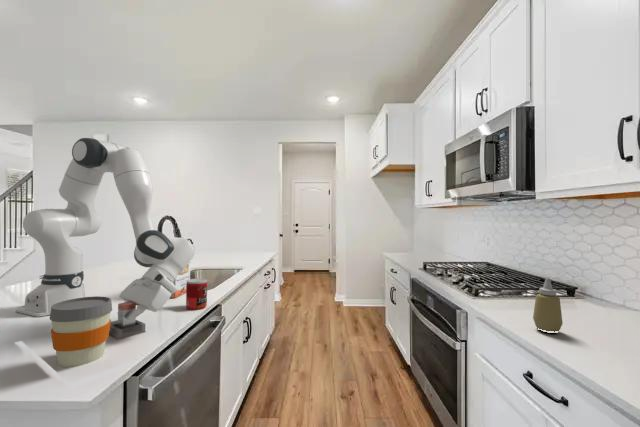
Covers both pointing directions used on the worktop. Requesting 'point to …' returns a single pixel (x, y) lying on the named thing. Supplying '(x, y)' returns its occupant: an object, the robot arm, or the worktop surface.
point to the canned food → (196, 294)
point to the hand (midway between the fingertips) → (124, 317)
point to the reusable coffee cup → (80, 329)
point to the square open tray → (126, 330)
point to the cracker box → (181, 281)
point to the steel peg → (125, 314)
